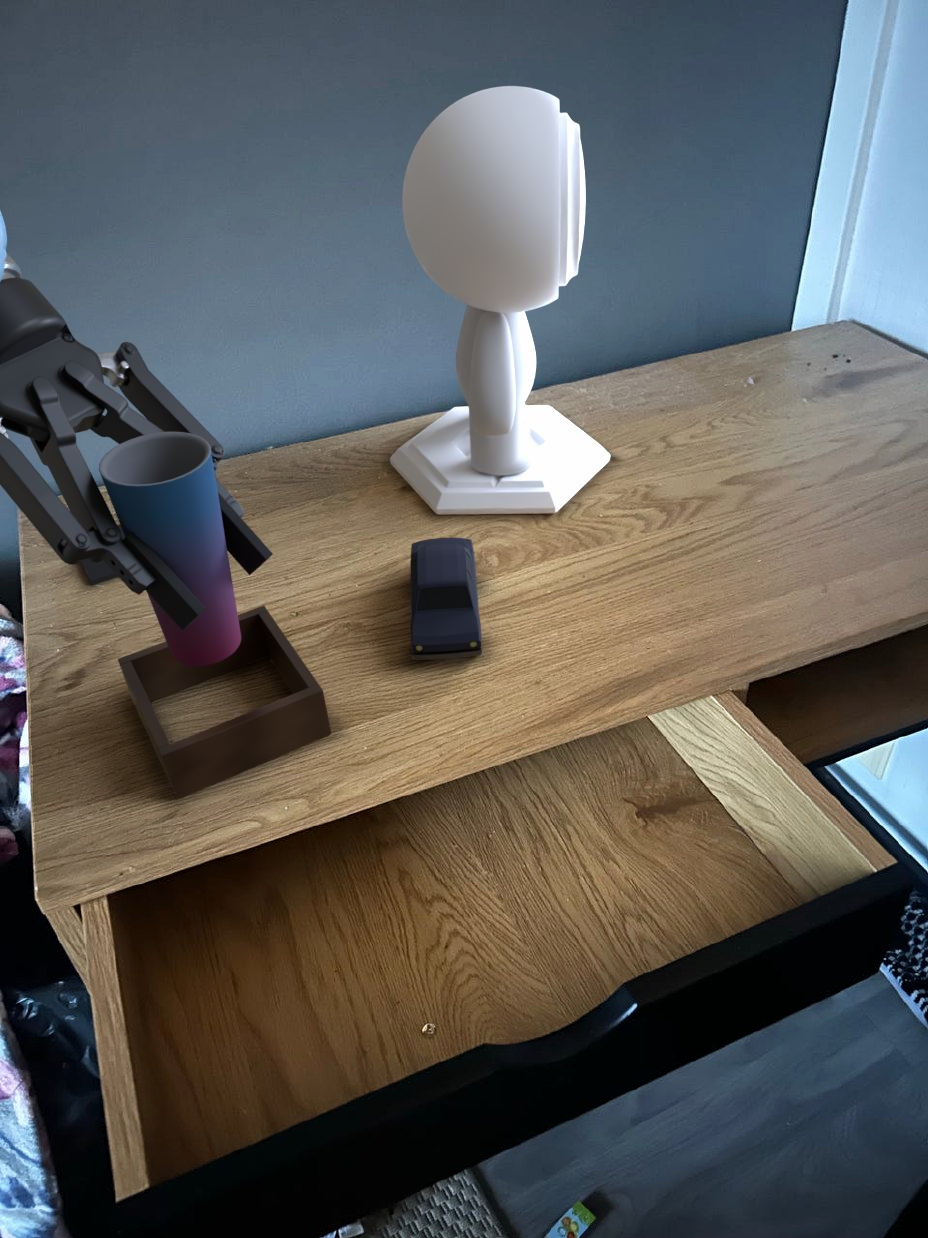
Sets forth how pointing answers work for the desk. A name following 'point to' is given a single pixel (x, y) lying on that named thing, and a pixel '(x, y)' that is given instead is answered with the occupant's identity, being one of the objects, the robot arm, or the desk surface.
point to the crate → (242, 736)
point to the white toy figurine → (498, 298)
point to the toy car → (444, 600)
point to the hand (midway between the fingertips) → (228, 590)
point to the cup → (179, 533)
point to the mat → (99, 568)
